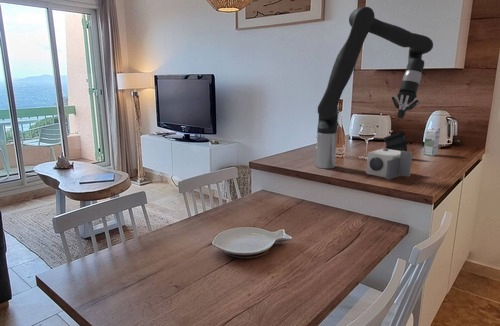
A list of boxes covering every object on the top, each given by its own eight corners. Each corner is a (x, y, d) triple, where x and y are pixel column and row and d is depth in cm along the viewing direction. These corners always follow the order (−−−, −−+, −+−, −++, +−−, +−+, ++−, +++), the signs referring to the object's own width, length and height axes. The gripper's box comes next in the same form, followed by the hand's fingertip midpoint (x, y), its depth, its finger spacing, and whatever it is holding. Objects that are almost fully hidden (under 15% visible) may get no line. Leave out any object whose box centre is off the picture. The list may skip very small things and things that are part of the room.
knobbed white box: (364, 174, 159) (366, 150, 156) (382, 168, 168) (383, 146, 166) (389, 179, 149) (391, 154, 147) (406, 173, 159) (408, 150, 157)
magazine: (409, 157, 184) (400, 131, 186) (388, 164, 194) (380, 139, 197) (413, 157, 186) (404, 130, 188) (392, 163, 197) (384, 138, 199)
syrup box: (437, 155, 199) (440, 129, 195) (432, 156, 195) (435, 130, 192) (427, 153, 203) (430, 128, 200) (422, 154, 200) (425, 129, 196)
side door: (385, 178, 147) (387, 153, 144) (397, 174, 153) (399, 150, 150) (398, 181, 142) (400, 155, 140) (409, 177, 149) (412, 152, 146)
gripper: (393, 78, 162) (383, 114, 164) (423, 81, 153) (411, 119, 155) (399, 82, 168) (389, 117, 170) (427, 85, 159) (416, 122, 161)
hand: (400, 118), depth 162 cm, fingers closed
